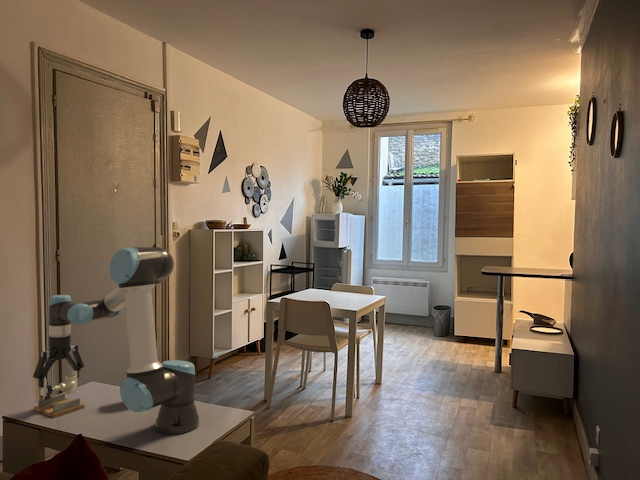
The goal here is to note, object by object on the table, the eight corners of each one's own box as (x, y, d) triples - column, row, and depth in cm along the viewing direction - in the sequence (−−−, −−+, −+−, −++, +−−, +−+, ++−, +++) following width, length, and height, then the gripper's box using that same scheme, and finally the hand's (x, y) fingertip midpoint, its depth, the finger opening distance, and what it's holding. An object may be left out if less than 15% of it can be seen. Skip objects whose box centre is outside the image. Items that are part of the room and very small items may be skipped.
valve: (70, 389, 195) (39, 398, 185) (70, 373, 195) (40, 381, 185) (79, 393, 192) (49, 401, 182) (80, 376, 192) (49, 384, 182)
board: (84, 408, 190) (84, 398, 190) (54, 417, 180) (54, 407, 180) (63, 400, 197) (63, 391, 197) (33, 410, 187) (33, 400, 187)
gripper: (82, 328, 200) (82, 381, 201) (22, 339, 180) (21, 397, 180) (93, 331, 196) (93, 384, 197) (33, 342, 176) (33, 402, 176)
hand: (59, 391), depth 188 cm, fingers closed on valve, 11 cm apart
